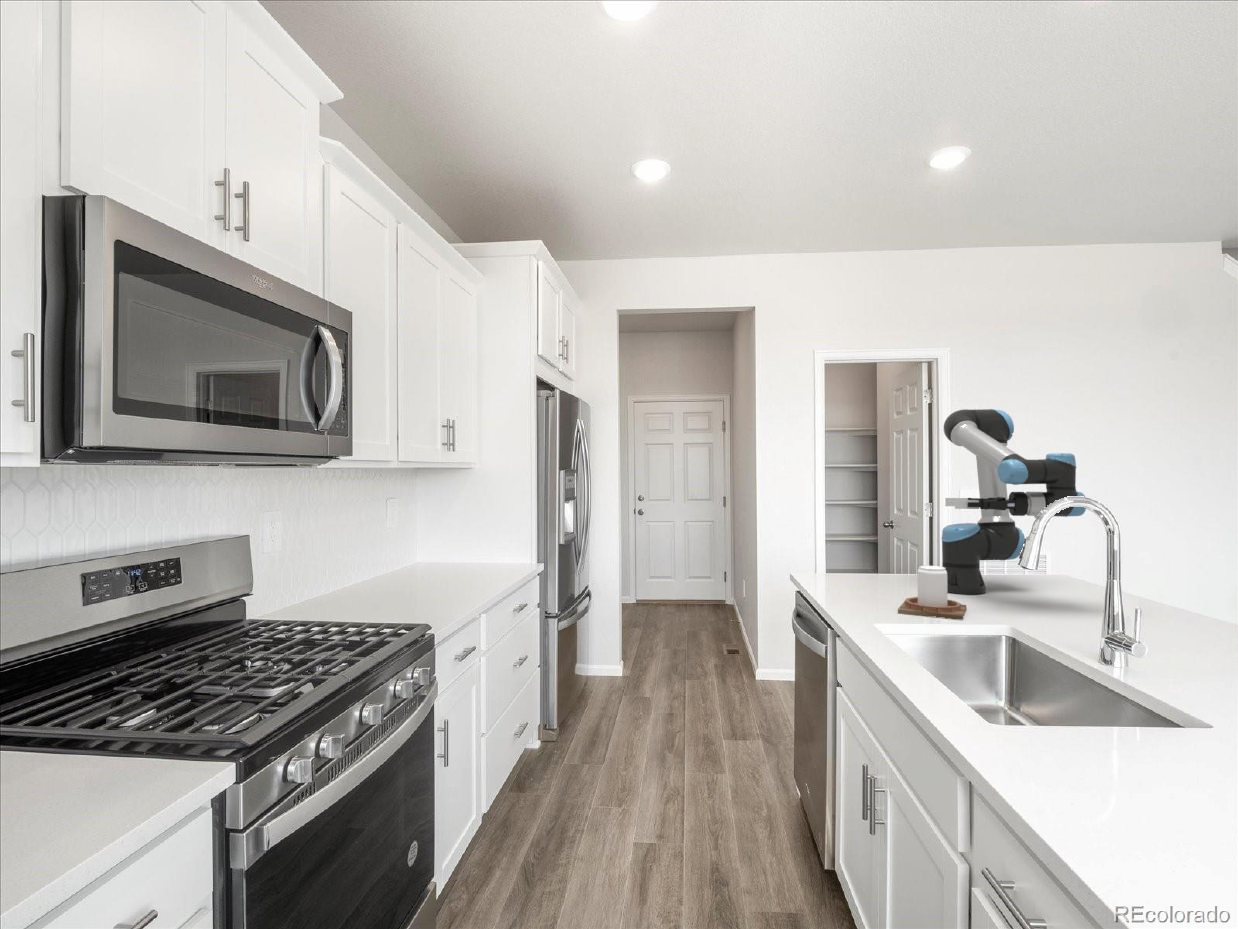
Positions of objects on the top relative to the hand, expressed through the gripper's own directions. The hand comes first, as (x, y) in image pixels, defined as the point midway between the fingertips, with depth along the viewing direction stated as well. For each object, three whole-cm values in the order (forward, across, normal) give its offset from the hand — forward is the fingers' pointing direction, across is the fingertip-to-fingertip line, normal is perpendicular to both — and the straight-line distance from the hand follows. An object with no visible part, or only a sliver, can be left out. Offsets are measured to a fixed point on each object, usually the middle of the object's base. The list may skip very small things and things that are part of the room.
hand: (950, 503), depth 205 cm
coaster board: (+8, -14, -32) cm, 36 cm away
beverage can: (+8, -14, -31) cm, 35 cm away
